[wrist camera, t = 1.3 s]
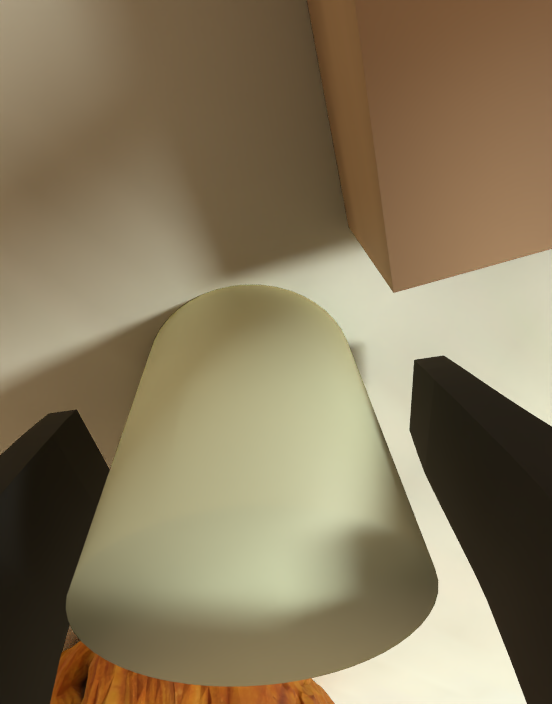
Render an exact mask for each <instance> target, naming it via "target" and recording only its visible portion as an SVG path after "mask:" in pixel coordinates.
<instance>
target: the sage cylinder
mask: <svg viewBox="0 0 552 704" xmlns="http://www.w3.org/2000/svg"><path fill="white" fill-rule="evenodd" d="M437 594H438V578H437V574H436V571H435V568H434V565H433V562H432V560H431V557H430V555H429V552H428V549H427V547H426V544H425V542H424V539H423V536H422V534H421V531H420V529H419V526H418V524H417V521H416V518H415V516H414V513H413V511H412V508H411V505H410V503H409V500H408V498H407V495H406V492H405V490H404V487H403V485H402V482H401V479H400V477H399V474H398V472H397V469H396V467H395V464H394V461H393V459H392V456H391V454H390V451H389V448H388V446H387V443H386V441H385V438H384V435H383V433H382V430H381V428H380V425H379V423H378V420H377V417H376V415H375V412H374V410H373V407H372V404H371V402H370V399H369V397H368V394H367V391H366V389H365V386H364V384H363V381H362V378H361V376H360V373H359V371H358V368H357V366H356V363H355V360H354V358H353V355H352V353H351V350H350V347H349V345H348V342H347V340H346V338H345V336H344V334H343V332H342V330H341V328H340V327H339V325H338V324H337V323H336V321H335V320H334V319H333V318H332V317H331V316H330V315H329V314H328V313H327V312H326V311H325V310H324V309H323V308H321V307H320V306H319V305H317V304H316V303H315V302H313V301H311V300H309V299H308V298H306V297H304V296H302V295H300V294H297V293H295V292H292V291H289V290H286V289H282V288H278V287H273V286H266V285H237V286H229V287H225V288H220V289H216V290H213V291H211V292H208V293H205V294H202V295H200V296H199V297H197V298H195V299H193V300H191V301H189V302H188V303H186V304H185V305H183V306H182V307H181V308H179V309H178V310H177V311H176V312H175V313H174V314H173V315H171V316H170V317H169V318H168V320H167V321H166V322H165V323H164V325H163V326H162V327H161V329H160V331H159V332H158V334H157V336H156V338H155V340H154V343H153V345H152V348H151V351H150V354H149V357H148V360H147V363H146V366H145V369H144V371H143V374H142V377H141V380H140V383H139V386H138V389H137V392H136V395H135V398H134V401H133V404H132V407H131V409H130V412H129V415H128V418H127V421H126V424H125V427H124V430H123V433H122V436H121V439H120V442H119V445H118V448H117V450H116V453H115V456H114V459H113V462H112V465H111V468H110V471H109V474H108V477H107V480H106V483H105V486H104V488H103V491H102V494H101V497H100V500H99V503H98V506H97V509H96V512H95V515H94V518H93V521H92V524H91V526H90V529H89V532H88V535H87V538H86V541H85V544H84V547H83V550H82V553H81V556H80V559H79V562H78V565H77V567H76V570H75V573H74V576H73V579H72V582H71V585H70V588H69V591H68V594H67V598H66V613H67V618H68V622H69V624H70V626H71V628H72V630H73V632H74V633H75V634H76V635H77V637H78V638H79V639H80V640H81V642H82V643H83V644H85V645H86V646H87V647H88V648H89V649H90V650H92V651H93V652H94V653H96V654H97V655H99V656H101V657H102V658H104V659H105V660H107V661H109V662H111V663H113V664H115V665H117V666H119V667H122V668H125V669H127V670H130V671H133V672H135V673H139V674H142V675H146V676H149V677H152V678H157V679H162V680H166V681H171V682H178V683H185V684H193V685H204V686H225V687H228V686H258V685H270V684H279V683H286V682H293V681H299V680H304V679H309V678H314V677H318V676H322V675H326V674H330V673H333V672H337V671H340V670H343V669H346V668H349V667H352V666H355V665H357V664H360V663H362V662H365V661H367V660H370V659H372V658H374V657H376V656H378V655H380V654H382V653H384V652H386V651H387V650H389V649H391V648H392V647H394V646H396V645H397V644H399V643H400V642H402V641H403V640H404V639H406V638H407V637H408V636H410V635H411V634H412V633H413V632H414V631H415V630H416V629H417V628H418V627H419V626H420V625H421V624H422V623H423V622H424V620H425V619H426V618H427V617H428V615H429V614H430V612H431V610H432V608H433V606H434V605H435V601H436V598H437Z"/></svg>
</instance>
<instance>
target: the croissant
mask: <svg viewBox="0 0 552 704" xmlns="http://www.w3.org/2000/svg"><path fill="white" fill-rule="evenodd" d="M50 704H335V703H334V702H333V701H332V700H331V699H330V697H329V696H328V694H327V693H326V692H325V691H324V690H323V689H322V687H320V686H319V685H318V684H316V683H315V682H314V681H313V680H312V679H311V678H309V679H304V680H299V681H293V682H286V683H279V684H270V685H258V686H228V687H225V686H204V685H193V684H185V683H178V682H171V681H166V680H162V679H157V678H152V677H149V676H146V675H142V674H139V673H135V672H133V671H130V670H127V669H125V668H122V667H119V666H117V665H115V664H113V663H111V662H109V661H107V660H105V659H104V658H102V657H101V656H99V655H97V654H96V653H94V652H93V651H92V650H90V649H89V648H88V647H87V646H86V645H85V644H83V643H82V642H81V641H79V642H78V643H77V644H76V645H74V646H73V647H72V648H69V649H67V650H65V651H63V652H62V653H61V657H60V661H59V666H58V670H57V675H56V679H55V684H54V688H53V692H52V697H51V701H50Z"/></svg>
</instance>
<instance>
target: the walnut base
mask: <svg viewBox="0 0 552 704" xmlns="http://www.w3.org/2000/svg"><path fill="white" fill-rule="evenodd" d="M307 4H308V9H309V15H310V20H311V25H312V31H313V36H314V42H315V47H316V52H317V58H318V63H319V69H320V74H321V80H322V85H323V90H324V96H325V101H326V107H327V112H328V118H329V123H330V128H331V134H332V139H333V145H334V150H335V156H336V161H337V166H338V172H339V177H340V183H341V188H342V194H343V199H344V204H345V210H346V215H347V221H348V226H349V228H350V230H351V231H352V233H353V234H354V236H355V237H356V239H357V240H358V242H359V243H360V244H361V246H362V247H363V249H364V250H365V252H366V253H367V255H368V256H369V258H370V259H371V260H372V262H373V263H374V265H375V266H376V268H377V269H378V271H379V272H380V274H381V275H382V277H383V278H384V279H385V281H386V282H387V284H388V285H389V287H390V288H391V290H392V291H393V293H395V292H398V291H402V290H406V289H409V288H413V287H416V286H420V285H423V284H427V283H431V282H434V281H438V280H441V279H445V278H449V277H452V276H456V275H459V274H463V273H466V272H470V271H474V270H477V269H481V268H484V267H488V266H491V265H495V264H499V263H502V262H506V261H509V260H513V259H517V258H520V257H524V256H527V255H531V254H534V253H538V252H542V251H545V250H549V249H552V0H307Z"/></svg>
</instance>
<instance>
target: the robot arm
mask: <svg viewBox="0 0 552 704" xmlns="http://www.w3.org/2000/svg"><path fill="white" fill-rule="evenodd" d="M410 433H411V436H412V439H413V442H414V445H415V447H416V450H417V453H418V456H419V459H420V461H421V464H422V467H423V470H424V472H425V474H426V477H427V479H428V481H429V483H430V485H431V487H432V489H433V491H434V493H435V495H436V497H437V499H438V501H439V503H440V505H441V507H442V509H443V511H444V513H445V515H446V517H447V519H448V521H449V523H450V525H451V527H452V529H453V531H454V533H455V535H456V537H457V539H458V541H459V543H460V545H461V547H462V549H463V551H464V553H465V555H466V557H467V559H468V561H469V563H470V565H471V567H472V569H473V571H474V573H475V575H476V577H477V579H478V581H479V584H480V586H481V588H482V590H483V592H484V595H485V597H486V599H487V601H488V604H489V606H490V609H491V611H492V614H493V617H494V619H495V622H496V624H497V627H498V629H499V632H500V634H501V637H502V639H503V642H504V644H505V647H506V649H507V652H508V655H509V657H510V660H511V662H512V665H513V668H514V670H515V673H516V676H517V678H518V681H519V684H520V686H521V689H522V692H523V694H524V697H525V700H526V702H527V704H552V426H550V425H548V424H547V423H545V422H543V421H542V420H540V419H539V418H537V417H536V416H534V415H532V414H531V413H529V412H528V411H526V410H525V409H523V408H521V407H520V406H518V405H517V404H515V403H514V402H512V401H511V400H509V399H508V398H506V397H505V396H503V395H502V394H500V393H499V392H497V391H496V390H494V389H493V388H491V387H490V386H488V385H487V384H485V383H484V382H482V381H481V380H479V379H478V378H476V377H475V376H474V375H472V374H471V373H469V372H468V371H466V370H465V369H463V368H462V367H460V366H459V365H457V364H456V363H454V362H453V361H451V360H450V359H448V358H447V357H445V356H438V357H431V358H424V359H417V360H414V372H413V387H412V401H411V416H410ZM109 471H110V469H109V467H108V466H107V464H106V462H105V460H104V458H103V457H102V455H101V453H100V451H99V449H98V447H97V446H96V444H95V442H94V440H93V438H92V437H91V435H90V433H89V431H88V429H87V428H86V426H85V424H84V422H83V420H82V418H81V417H80V415H79V413H78V411H77V410H71V411H64V412H57V413H50V414H48V415H47V416H45V417H44V418H43V419H41V420H40V421H39V422H38V423H37V424H35V425H34V426H33V427H32V428H31V429H29V430H28V431H27V432H26V433H25V434H24V435H23V436H21V437H20V438H19V439H18V440H17V441H16V442H15V443H14V444H12V445H11V446H10V447H9V448H8V449H7V450H6V451H5V452H4V453H2V454H1V455H0V704H50V701H51V697H52V692H53V688H54V684H55V679H56V675H57V670H58V666H59V661H60V657H61V653H62V650H63V646H64V643H65V639H66V635H67V632H68V629H69V625H70V624H69V622H68V618H67V613H66V598H67V594H68V591H69V588H70V585H71V582H72V579H73V576H74V573H75V570H76V567H77V565H78V562H79V559H80V556H81V553H82V550H83V547H84V544H85V541H86V538H87V535H88V532H89V529H90V526H91V524H92V521H93V518H94V515H95V512H96V509H97V506H98V503H99V500H100V497H101V494H102V491H103V488H104V486H105V483H106V480H107V477H108V474H109Z"/></svg>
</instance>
